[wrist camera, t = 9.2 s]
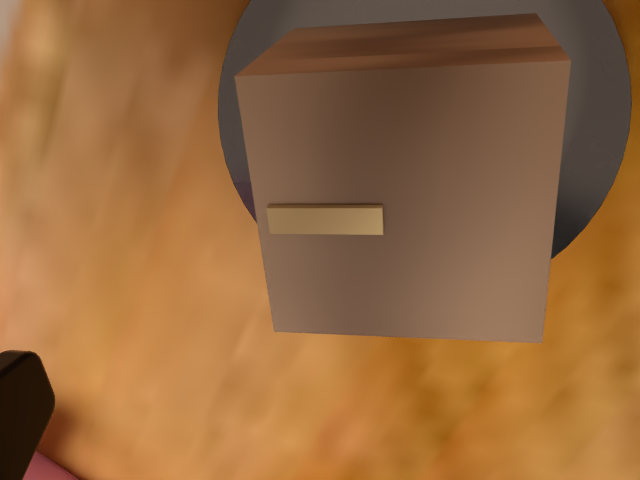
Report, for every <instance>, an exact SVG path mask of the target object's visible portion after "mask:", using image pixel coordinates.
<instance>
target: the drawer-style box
mask: <svg viewBox="0 0 640 480" xmlns="http://www.w3.org/2000/svg"><path fill="white" fill-rule="evenodd" d="M570 66H571V60H570V58H569V57H568V56H567V54H566V53H565V51H564V50H563V49H562V47H561V46H560V45H559V43H558V42H557V41H556V39H555V38H554V37H553V35H552V34H551V32H550V31H549V30H548V28H547V27H546V26H545V24H544V23H543V22H542V20H541V19H540V18H539V16H538V15H537V13H529V14H513V15H497V16H481V17H465V18H449V19H434V20H418V21H402V22H386V23H370V24H355V25H339V26H323V27H307V28H293V29H292V30H291V31H290V32H288V33H287V34H286V35H285V36H283V37H282V38H281V39H280V40H278V41H277V42H276V43H275V44H274V45H272V46H271V47H270V48H269V49H267V50H266V51H265V52H264V53H263V54H261V55H260V56H259V57H258V58H256V59H255V60H254V61H253V62H251V63H250V64H249V65H248V66H247V67H245V68H244V69H243V70H242V71H240V72H239V73H238V74H237V75H236V76H234V77H235V83H236V90H237V96H238V102H239V109H240V115H241V122H242V128H243V135H244V141H245V147H246V154H247V160H248V167H249V173H250V180H251V186H252V192H253V199H254V205H255V212H256V218H257V225H258V231H259V237H260V244H261V250H262V257H263V263H264V269H265V276H266V282H267V289H268V295H269V302H270V308H271V314H272V321H273V327H274V332H292V333H315V334H339V335H362V336H385V337H409V338H432V339H455V340H479V341H502V342H525V343H542V340H543V330H544V321H545V311H546V301H547V291H548V281H549V272H550V262H551V252H552V242H553V232H554V223H555V213H556V203H557V193H558V183H559V174H560V164H561V154H562V144H563V134H564V125H565V115H566V105H567V95H568V85H569V76H570Z"/></svg>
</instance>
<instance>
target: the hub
mask: <svg viewBox="0 0 640 480" xmlns="http://www.w3.org/2000/svg"><path fill="white" fill-rule="evenodd" d="M529 13H537V15H538V16H539V18H540V19H541V20H542V22H543V23H544V24H545V26H546V27H547V28H548V30H549V31H550V32H551V34H552V35H553V37H554V38H555V39H556V41H557V42H558V43H559V45H560V46H561V47H562V49H563V50H564V51H565V53H566V54H567V56H568V57H569V58H570V60H571V66H570V76H569V85H568V95H567V105H566V115H565V125H564V134H563V144H562V154H561V164H560V174H559V183H558V193H557V203H556V213H555V223H554V232H553V242H552V252H551V259H552V258H554V257H555V256H556V255H557V254H558V253H560V252H561V251H562V250H563V249H564V248H566V247H567V246H568V245H569V244H570V243H571V242H572V241H573V240H574V239H575V238H576V237H577V236H578V234H579V233H580V232H581V231H582V230H583V229H584V228H585V227H586V226H587V224H588V223H589V222H590V220H591V219H592V217H593V216H594V215H595V213H596V212H597V211H598V209H599V208H600V207H601V205H602V203H603V201H604V199H605V198H606V196H607V194H608V192H609V190H610V188H611V187H612V185H613V183H614V180H615V178H616V175H617V173H618V170H619V167H620V165H621V162H622V160H623V156H624V152H625V148H626V143H627V139H628V135H629V129H630V117H631V105H632V102H631V86H630V74H629V69H628V65H627V60H626V55H625V51H624V47H623V44H622V41H621V39H620V36H619V34H618V31H617V28H616V26H615V23H614V21H613V19H612V17H611V15H610V13H609V12H608V10H607V8H606V6H605V5H604V3H603V1H602V0H251V1H250V3H249V5H248V6H247V8H246V9H245V11H244V13H243V14H242V16H241V18H240V20H239V22H238V24H237V26H236V29H235V31H234V33H233V35H232V38H231V40H230V43H229V46H228V49H227V53H226V56H225V59H224V63H223V66H222V73H221V79H220V85H219V96H218V120H219V130H220V139H221V144H222V148H223V152H224V157H225V161H226V164H227V167H228V170H229V172H230V175H231V178H232V181H233V183H234V186H235V188H236V189H237V191H238V193H239V195H240V197H241V199H242V201H243V203H244V205H245V206H246V208H247V209H248V211H249V212H250V214H251V215H252V217H253V218H254V220H255V221H256V223H257V218H256V212H255V205H254V199H253V192H252V186H251V180H250V173H249V167H248V160H247V154H246V147H245V141H244V135H243V128H242V122H241V115H240V109H239V102H238V96H237V90H236V83H235V77H234V76H236V75H237V74H238V73H239V72H240V71H242V70H243V69H244V68H245V67H247V66H248V65H249V64H250V63H251V62H253V61H254V60H255V59H256V58H258V57H259V56H260V55H261V54H263V53H264V52H265V51H266V50H267V49H269V48H270V47H271V46H272V45H274V44H275V43H276V42H277V41H278V40H280V39H281V38H282V37H283V36H285V35H286V34H287V33H288V32H290V31H291V30H292V29H293V28H307V27H323V26H339V25H355V24H370V23H386V22H402V21H418V20H434V19H449V18H465V17H481V16H497V15H513V14H529Z"/></svg>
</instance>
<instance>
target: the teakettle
mask: <svg viewBox="0 0 640 480" xmlns="http://www.w3.org/2000/svg"><path fill="white" fill-rule="evenodd" d="M23 480H79V479H78V478H76V477H75V476H73V475H72V474H71V473H69V472H68V471H66V470H65V469H63V468H62V467H60V466H59V465H57V464H56V463H54V462H53V461H51V460H50V459H48V458H46V457H45V456H43V455H42V454H40V453H38V452H37V451H35V454H34V456H33V458H32V460H31V462H30V465H29V467H28V469H27V471H26V473H25V476H24V478H23Z"/></svg>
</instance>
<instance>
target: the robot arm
mask: <svg viewBox="0 0 640 480" xmlns="http://www.w3.org/2000/svg"><path fill="white" fill-rule="evenodd" d="M54 407H55V395H54V392H53V389H52V386H51V384H50V381H49V379H48V376H47V374H46V371H45V368H44V366H43V363H42V361H41V359H40V357H39V356H38V355H37V354H36V353H34V352H31V351H18V350H9V351H4V352H2V353H0V480H23V478H24V476H25V473H26V471H27V469H28V467H29V465H30V462H31V460H32V458H33V456H34V454H35V451H36V449H37V447H38V445H39V443H40V440H41V438H42V436H43V434H44V431H45V429H46V427H47V425H48V423H49V420H50V418H51V416H52V414H53V411H54Z"/></svg>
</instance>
